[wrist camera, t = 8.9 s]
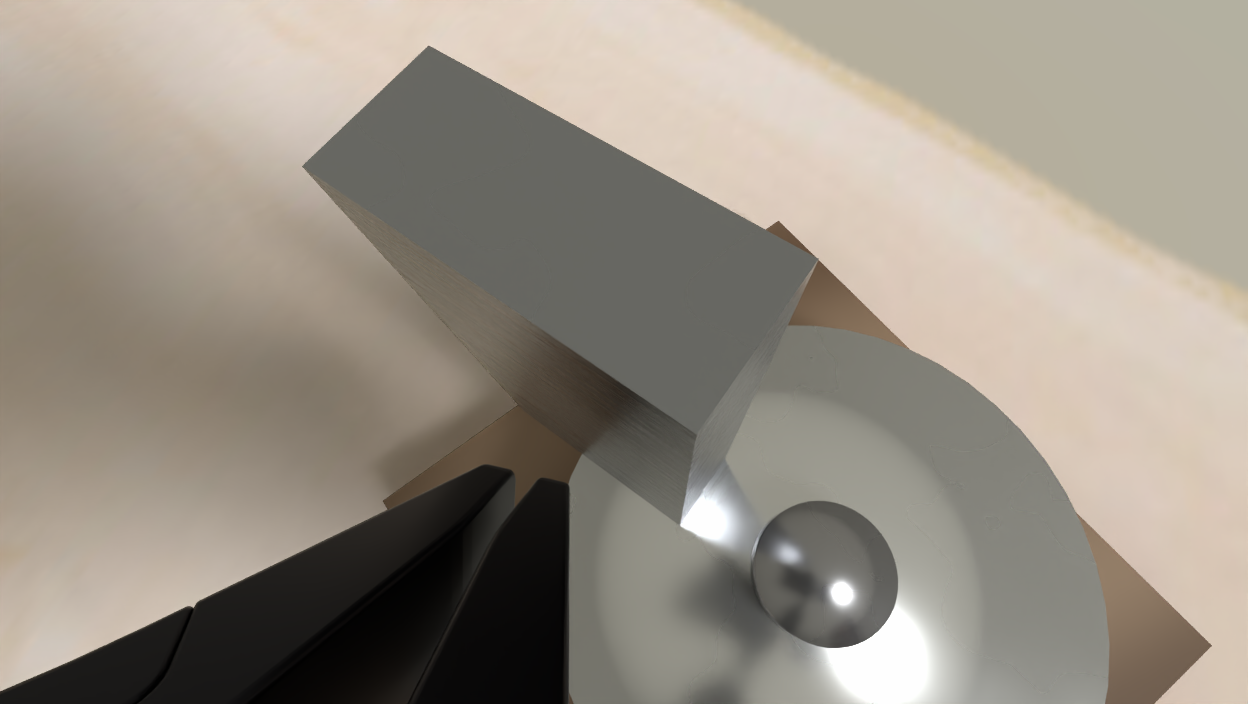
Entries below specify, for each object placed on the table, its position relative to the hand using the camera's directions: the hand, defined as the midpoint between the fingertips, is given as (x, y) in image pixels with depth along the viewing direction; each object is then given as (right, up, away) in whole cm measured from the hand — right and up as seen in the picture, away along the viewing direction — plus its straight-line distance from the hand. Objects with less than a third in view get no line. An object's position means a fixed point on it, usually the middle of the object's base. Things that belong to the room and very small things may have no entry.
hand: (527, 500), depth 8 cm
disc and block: (+4, -2, +5) cm, 7 cm away
